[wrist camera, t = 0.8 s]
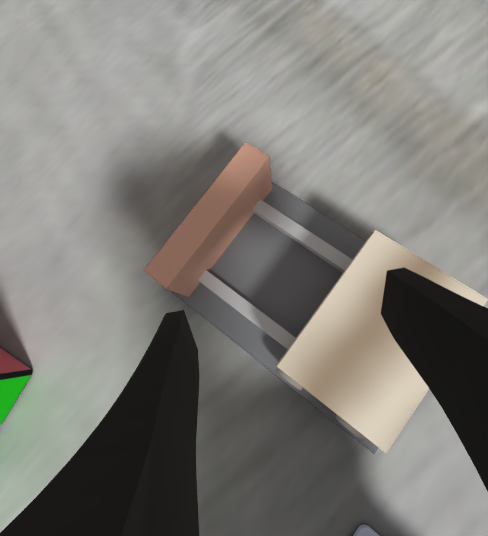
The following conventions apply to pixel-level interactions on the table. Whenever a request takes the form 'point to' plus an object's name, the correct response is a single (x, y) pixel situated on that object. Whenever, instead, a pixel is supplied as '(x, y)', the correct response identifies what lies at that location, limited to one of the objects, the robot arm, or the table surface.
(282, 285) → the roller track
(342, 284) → the slab
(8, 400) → the puzzle cube
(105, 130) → the table surface
